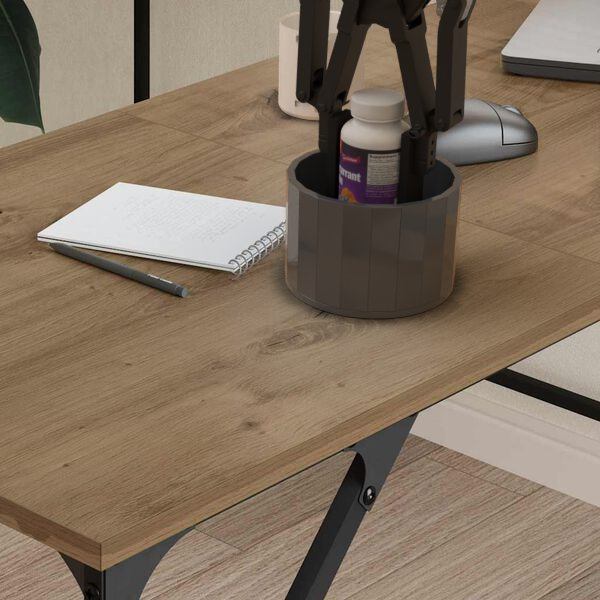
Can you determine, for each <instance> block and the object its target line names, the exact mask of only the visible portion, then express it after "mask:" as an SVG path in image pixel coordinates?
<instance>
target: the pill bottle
mask: <svg viewBox="0 0 600 600" xmlns="http://www.w3.org/2000/svg"><path fill="white" fill-rule="evenodd" d="M405 113H406V97H405V94H403V92H401V91H398V90H395V89H391V88H386V87H385V88H384V87H368V88H364V89H361V90H358V91H356V92H354V93H353V94H352V96H351V115H352V116H353V117H354V118H352V119H350V120H349V121H347V122H346V123H345V124H344V126H343V127H342V130H341V139H340V171H339V200H342V201H346V202H355V203H364V204H373V205H376V204H398V187H399V168H400V150H401V134H402V133H404V132H405V131H407V130H409V129H410V128H411V125H410V124H409V123H407V122H406V121H405V120H403V119H404V117H405Z"/></svg>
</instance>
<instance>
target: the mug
mask: <svg viewBox="0 0 600 600" xmlns="http://www.w3.org/2000/svg"><path fill="white" fill-rule="evenodd" d="M340 13H341V10H340V11H339V10H330V20H329V37H328V53H327V67H328V64H329V60H330V57H331V54H332V50H333V47H334V43H335V40H336V37H337V33H338V29H337V23H338V20H339V16H340ZM299 17H300V10H298V11H294V12H290V13H287V14H284V15H282V16H281V17H280V18H279V28H278V29H279V30H278V31H279V32H278V33H279V34H278V35H279V36H278V37H279V38H278V95H277V96H278V98H277V99H278V100H277V102H278V106H279V108H280V109H281V111H282V112H283V113H284V114H286V115H288V116H291V117H294V118H297V119H302V120H306V121H307V120H309V121H318V122H319V114H318V111H317V110H316V108H315V107H313V106H312V105H310V104H308V103H307V102H306V103H301V102H299V101H298V100H297V98H296V77H297V57H298V37H299ZM366 45H367V37H366V38H365V41H364V44H363V47H362V51H361V54H360V57H359V60H358V64H357V67H356V70H355V73H354V77H353V80H352V83H351V86H350V90H349V93H348V96H347V100H350V102H349V103H348V104H346V105H344V106H343V107H342V111H343V110H344V109H349V110H351V96H352V94H353V93H354V92H356V91H358V90H361V89H365V72H366V48H367V47H366ZM347 100H346V101H347Z"/></svg>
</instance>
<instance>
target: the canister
mask: <svg viewBox="0 0 600 600" xmlns="http://www.w3.org/2000/svg"><path fill="white" fill-rule="evenodd" d="M435 158H436V160H435V166H434V168H433V170H432V171H431V172H429V173H428V174H426V175H425V176H424V181H423V197H422V201H416V202H410V203H403V204H376V205H373V204H364V203H355V202H346V201H342V200H339V198H338V199H334V198H330V197H326V177H327V154H323V153H320V150H319V148H316V149H314V150H313V149H312V150H310V151H307V152H305V153H303V154H301V155H300V156H297V157H295V158H294V159H293V160H292V161H291V162H290V164H289V165H288V167H287V168H286V177H285V230H284V272H285V274H284V275H285V276H284V277H285V284H286V286H287V288H288V290H289V291H290V293H292V295H293V296H295V298H297V299H298V300H300V301H301V302H303V303H305V304H307V305H308V306H309V307H312V308H315V309H317V310H320V311H324V312H326V313H330V314H334V315H338V316H342V317H343V316H344V317H348V318H349V317H350V318H357V319H370V320H371V319H378V320H379V319H380V320H381V319H395V318H396V319H397V318H405V317H409V316H414V315H418V314H421V313H425V312H427V311H429V310H432V309H435V308H436V307H438V306H440V305H441V304H443V303H444V302H445V301H446V300H447V299H448V298H449V297H450V295H451V294H452V292H453V290H454V281H455V278H456V266H457V255H458V254H457V253H458V241H459V231H460V218H461V204H462V193H463V180H464V178H463V175H462V174H461V171H460V170H459V168H458V167H457V166H456V165H455V164H453V163H452V162H450V161H449V160H447V159H446V158H445V157H442V156H440V155H438V154H436V157H435Z"/></svg>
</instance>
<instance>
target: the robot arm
mask: <svg viewBox="0 0 600 600" xmlns="http://www.w3.org/2000/svg"><path fill="white" fill-rule="evenodd" d="M431 1H432V0H341V2H342V7H341V10H340V12H341V13H340V16H339V20H338V23H337V29H338V33H337V37H336V40H335V43H334V47H333V50H332V54H331V57H330V60H329V64H328V67H327V53H328V37H329V20H330V11H331V0H298V2H299V11H300V17H299V37H298V57H297V77H296V98H297V100H298V101H299V102H301V103H306V102H307V103H308V104H310V105H312V106H313V107H315V108H316V110H317V111H318V114H319V121H318V135H317V136H318V137H317V138H318V143H317V147H318V149H319V150H320V153H323V154H327V177H326V197H330V198H334V199H338V198H339V171H340V139H341V130H342V127H343V126H344V124H345V123H346V122H347V121H349V120H350V119H352V118H354V117H353V116H352V115H351V110H349V109H344V110H343V111H342V107H343V106H344V105H346V104H348V103H349V102H350V100H347V96H348V93H349V90H350V86H351V83H352V80H353V77H354V73H355V70H356V67H357V64H358V60H359V57H360V54H361V51H362V47H363V44H364V41H365V38H366V39H367V35H368V32H369V30H370V28H371V27H372V25H377V26H379V27H381V28H383V29H387V30H388V33H389V39H390V42H391V43H392V44H393V45H394V47H395V51H396V56H397V62H398V67H399V72H400V77H401V82H402V87H403V92H404V96H405V103H406V108H407V111H408V117H409V121H410V123H409V124H410V129H409V130H407V131H405V132H404V133H402V134H401V150H400V168H399V187H398V204H403V203H410V202H416V201H422V197H423V181H424V176H425V175H426V174H428V173H429V172H431V171H432V170H433V168H434V166H435V160H436V158H435V157H436V155H437V144H438V133H439V132H441V133H446V132H447V131H449V130H451V129H452V128H454V127H455V126H457V125H458V124H460V123H462V121H464V119H465V103H466V100H465V99H466V79H467V78H466V77H467V56H468V55H467V54H468V31H469V21H470V19H471V16H472V13H473V11H474V8H475V6H476V4H477V0H435V2H436V10H435V14H436V16H438V17H440V18H439V22H438V27H437V35H436V37H437V38H436V66H435V67H436V69H435V81H434V75H433V70H432V65H431V60H430V54H429V49H428V43H427V37H426V33H427V31H428V27H427V20H426V15H425V8H426V7H427V6H428V5H429V4H430V2H431ZM346 100H347V101H346Z"/></svg>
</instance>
